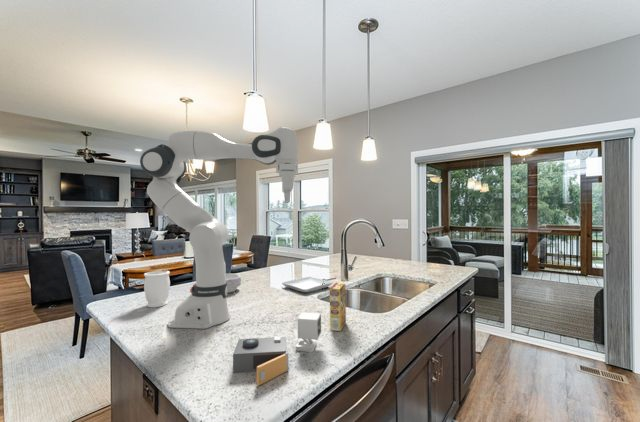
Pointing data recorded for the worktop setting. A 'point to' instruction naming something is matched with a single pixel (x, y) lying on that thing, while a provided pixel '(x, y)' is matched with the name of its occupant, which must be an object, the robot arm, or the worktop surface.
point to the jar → (157, 288)
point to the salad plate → (307, 284)
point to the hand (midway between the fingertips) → (287, 202)
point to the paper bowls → (232, 282)
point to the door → (272, 368)
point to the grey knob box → (256, 352)
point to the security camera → (308, 331)
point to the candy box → (337, 307)
